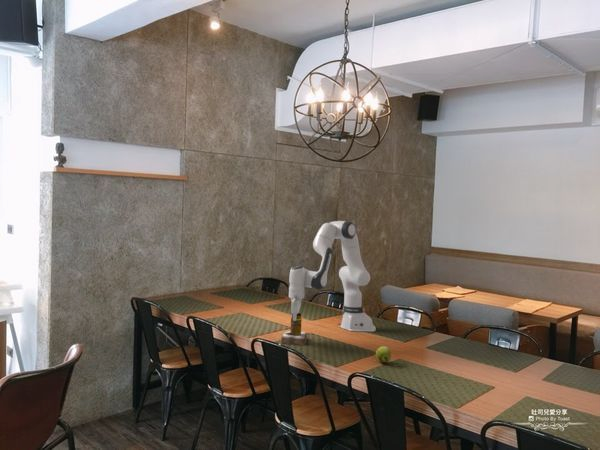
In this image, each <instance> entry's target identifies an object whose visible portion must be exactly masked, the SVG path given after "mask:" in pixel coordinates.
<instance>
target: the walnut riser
mask: <svg viewBox="0 0 600 450" xmlns="http://www.w3.org/2000/svg"><path fill="white" fill-rule="evenodd" d="M285 333H290V330H284V332H283V334H282V335H281V342H280V343H281V344H285V345H298V346H299V345H301V346H305V345H306V342H307V335H308V333H307V332H306V331H301V334H303V335H301V336H293V337H291V336H288V335H287V334H285Z"/></svg>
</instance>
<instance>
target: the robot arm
mask: <svg viewBox="0 0 600 450" xmlns="http://www.w3.org/2000/svg"><path fill="white" fill-rule="evenodd" d="M335 239H336V240H340V244H341V252H342V258H343V259H342V260H343V261H344V262H345V264H346V265H344V266H341V267H340V268H339V271H338V278H339V279H340V280H341V283H342V286H343V287H342V288H343V293H344V298H343V300H344V301H343V306H342V319H341V323H340V328H342V329H343V330H346V331H349V332H367V333H368V332H371V333H372V332H376V330H377V327H376V326H375V325H374V323H373V319H372V317H370V316H369V315H368V314H366V308H365V307H364V306H362V299H363V298H362V297H363V294H362V291H361V290H360V288H359V287H364V286H367V285H368V284H369V282H370V281H371V275H370V274H371V273H369V271H368V270H367V269H366V266H365V265H364V262H363V259H362V256H361V255H362V254H361V251H360V243H359V238H358V234H357V229H356V226H355V223H353V222H352V221H349V220H346V221H345V220H335V221H333V220H332V221H328V222H325V223H323V224H322V225H321V226H320V227H319V229H318V231H317V232H316V235H315V236H314V239H313V242H312V247H313V250H314V251H315V253H317V254H318V255H320V256H321V257H322V258H321V263H320V266H319V269H318V271H314V270H309V269H306V268H305V266H304V265H301V264H298V265H293V266H291V268H290V270H289V278H288V282H289V287H288V298H290V301H291V306H290V308H291V310H290V313H291V314H290V315H292V314H293V321H296V320H297V314H298V313H299V311H300V309H301V307H302V306H301V305H302V302H303V299H304V298H305V288H309V289H310V288H311V289H314V290H317V291H322V290H323V289H324V288H325V287H326V286H327V284H328V279H329V278H328V277H329V273H330V268H331V264H332V261H333V257H334V256H333V255H334V251H333V249H332V247H333V243H334V241H335Z"/></svg>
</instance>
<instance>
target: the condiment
mask: <svg viewBox="0 0 600 450" xmlns="http://www.w3.org/2000/svg"><path fill="white" fill-rule="evenodd" d="M302 321H303V320H302V313H300V312H298V314H297V320H296V321H293V314H291V318H290V330H289V331H290V333H285V334H287V335H288V336H291V337H293V336H301V335H303V334H301V332H302Z"/></svg>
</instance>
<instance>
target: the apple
mask: <svg viewBox="0 0 600 450" xmlns="http://www.w3.org/2000/svg"><path fill="white" fill-rule="evenodd" d="M375 358H376V360H377V361H378V362H380V363H382V364H384V363H385V364H386V363H388V362H389V361H390V360H391V358H392V352H391V349H390V348H389V347H388V346H383V345H381V346H380V347H378V348H377V349H376V352H375Z"/></svg>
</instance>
